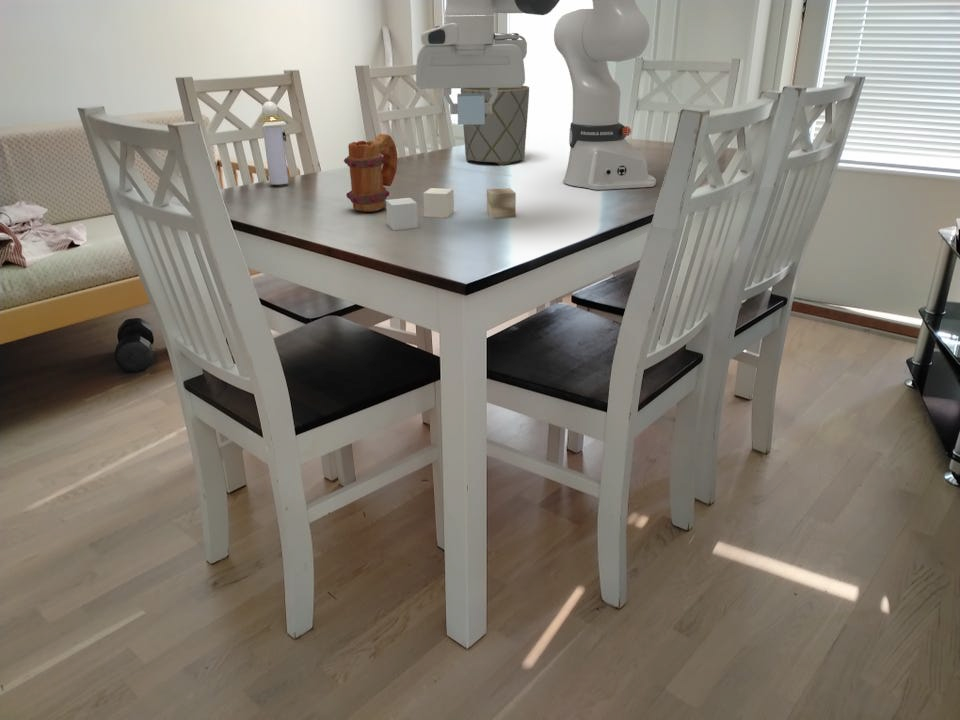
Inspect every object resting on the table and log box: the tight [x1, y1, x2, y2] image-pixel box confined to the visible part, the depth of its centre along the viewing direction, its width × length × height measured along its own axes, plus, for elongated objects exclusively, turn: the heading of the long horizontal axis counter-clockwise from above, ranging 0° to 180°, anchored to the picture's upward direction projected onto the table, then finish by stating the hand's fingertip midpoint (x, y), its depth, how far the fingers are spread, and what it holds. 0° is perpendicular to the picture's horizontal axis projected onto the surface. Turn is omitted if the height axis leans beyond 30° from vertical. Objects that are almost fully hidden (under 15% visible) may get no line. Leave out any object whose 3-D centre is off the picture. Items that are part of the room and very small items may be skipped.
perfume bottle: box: [258, 100, 290, 185], centre depth 179 cm, size 6×6×20 cm
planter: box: [460, 85, 530, 166], centre depth 207 cm, size 19×19×20 cm
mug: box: [343, 133, 398, 213], centre depth 157 cm, size 15×8×15 cm, turn 148°
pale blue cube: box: [456, 93, 485, 126], centre depth 138 cm, size 5×5×5 cm
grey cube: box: [385, 197, 419, 231], centre depth 145 cm, size 5×5×5 cm
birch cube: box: [486, 187, 517, 219], centre depth 153 cm, size 5×5×5 cm
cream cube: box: [422, 187, 455, 219], centre depth 153 cm, size 5×5×5 cm
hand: (471, 113), depth 138 cm, fingers closed on pale blue cube, 5 cm apart
